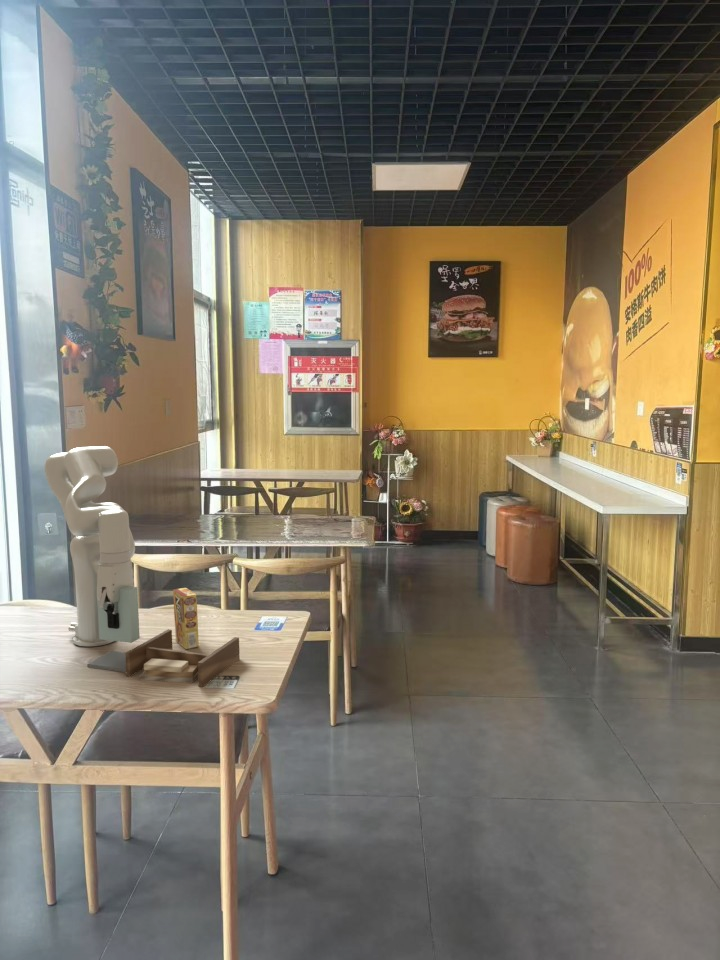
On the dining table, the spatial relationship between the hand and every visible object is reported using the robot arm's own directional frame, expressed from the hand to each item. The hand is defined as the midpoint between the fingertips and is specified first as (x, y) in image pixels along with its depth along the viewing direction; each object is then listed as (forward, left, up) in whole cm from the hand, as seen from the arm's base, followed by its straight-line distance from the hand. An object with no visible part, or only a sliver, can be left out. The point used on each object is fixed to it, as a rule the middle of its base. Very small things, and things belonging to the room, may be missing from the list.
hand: (118, 624), depth 190 cm
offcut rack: (+18, +3, -10) cm, 21 cm away
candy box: (+9, +18, -11) cm, 23 cm away
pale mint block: (0, 0, -4) cm, 4 cm away
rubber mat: (0, 0, -10) cm, 10 cm away
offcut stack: (+18, -4, -11) cm, 21 cm away
